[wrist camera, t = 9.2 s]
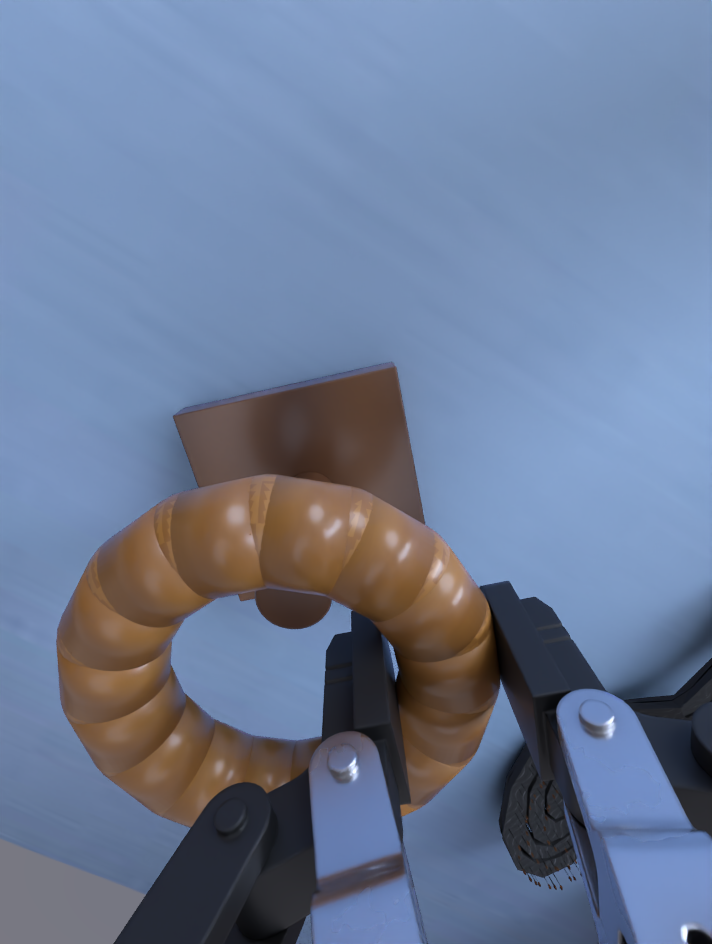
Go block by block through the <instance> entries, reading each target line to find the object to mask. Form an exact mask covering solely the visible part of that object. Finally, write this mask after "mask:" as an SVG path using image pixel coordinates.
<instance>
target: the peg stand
mask: <svg viewBox="0 0 712 944" xmlns="http://www.w3.org/2000/svg"><path fill="white" fill-rule="evenodd" d="M173 418H174V421H175V424H176V427H177V429H178V432H179V435H180V438H181V440H182V443H183V446H184V448H185V451H186V454H187V457H188V459H189V462H190V465H191V468H192V470H193V473H194V476H195V478H196V481H197V484H198V487H199V488H200V487H205V486H209V485H214V484H219V483H223V482H228V481H233V480H237V479H242V478H247V477H251V476H256V475H263V474H277V475H284V476H290V477H297V478H303V479H309V480H316V481H322V482H328V483H335V484H341V485H348V486H353V487H357V488H360V489H363V490H365V491H367V492H369V493H371V494H373V495H374V496H376V497H378V498H380V499H381V500H383V501H385V502H386V503H388V504H390V505H392V506H393V507H395V508H397V509H398V510H400V511H402V512H404V513H405V514H407V515H409V516H410V517H412V518H414V519H416V520H417V521H419V522H421V523H422V524H424V525H425V521H424V515H423V510H422V504H421V499H420V493H419V488H418V482H417V477H416V472H415V466H414V461H413V455H412V450H411V444H410V439H409V434H408V428H407V423H406V417H405V412H404V406H403V401H402V395H401V390H400V385H399V379H398V374H397V368H396V366H395V365H394V363H393V362H389V363H385V364H380V365H376V366H371V367H367V368H362V369H358V370H353V371H349V372H344V373H340V374H335V375H331V376H326V377H322V378H317V379H313V380H308V381H304V382H299V383H295V384H290V385H286V386H281V387H277V388H273V389H268V390H264V391H259V392H255V393H250V394H246V395H241V396H237V397H232V398H228V399H223V400H219V401H214V402H210V403H205V404H201V405H196V406H192V407H187V408H184V409H182V410H181V411H179V412H178V413H177V414H175V415H174V416H173ZM238 596H239V598H240V601H245V600H250V599H255V601H256V605H257V607H258V609H259V611H260V612H261V614H262V615H263V616H264V617H265V618H266V619H267V620H268V621H270V622H271V623H273V624H275V625H277V626H279V627H283V628H287V629H302V628H306V627H309V626H312V625H314V624H316V623H317V622H319V621H320V620H321V619H322V618H323V617H324V616H325V615H326V614H327V612H328V611H329V608H330V606H331V602H332V599H330V598H328V597H326V596H321V595H313V594H306V593H299V592H292V591H285V590H277V589H270V588H267V589H262V590H257V591H251V592H246V593H241V594H238Z"/></svg>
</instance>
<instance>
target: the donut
mask: <svg viewBox="0 0 712 944" xmlns="http://www.w3.org/2000/svg"><path fill="white" fill-rule="evenodd" d="M267 588H270V589H277V590H285V591H292V592H299V593H306V594H313V595H321V596H326V597H328V598H330V599H332V600H333V601H335V602H337V603H339V604H341V605H343V606H345V607H347V608H349V609H351V610H353V611H355V612H357V613H359V614H361V615H363V616H364V617H366V618H368V619H370V620H371V621H372V622H373V624H374V625H375V626H376V627H377V628H378V630H379V631H380V632H381V633H382V634H383V635H384V637H385V638H386V639H387V640H388V641H389V642H390V644H391V645H392V646H393V648H394V652H395V656H396V660H397V664H398V669H399V671H398V675H397V679H396V692H397V699H398V705H399V712H400V720H401V728H402V735H403V743H404V751H405V758H406V766H407V774H408V781H409V789H410V796H411V804H405V805H400V807H401V817H402V816H405V815H407V814H409V813H411V812H413V811H415V810H417V809H419V808H421V807H422V806H424V805H425V804H427V803H428V802H429V801H431V800H432V799H433V798H434V797H435V796H436V795H437V794H438V793H439V792H440V791H441V790H442V789H443V788H444V787H445V786H446V785H447V784H448V783H449V782H450V781H451V780H452V779H453V778H454V777H455V776H456V775H457V774H458V773H459V772H460V771H461V770H462V769H463V768H464V767H465V766H466V765H467V764H468V763H469V761H471V759H472V758H473V756H474V755H475V753H476V752H477V750H478V748H479V745H480V743H481V740H482V737H483V735H484V732H485V729H486V727H487V724H488V721H489V718H490V716H491V713H492V710H493V708H494V705H495V702H496V700H497V697H498V693H499V688H500V668H499V661H498V654H497V647H496V640H495V633H494V626H493V618H492V614H491V611H490V607H489V604H488V602H487V600H486V598H485V596H484V595H483V593H482V591H481V590H480V589H479V587H478V586H477V584H476V583H475V582H474V580H473V579H472V577H471V576H470V575H469V573H468V572H467V570H466V569H465V568H464V566H463V565H462V564H461V562H460V561H459V559H458V558H457V557H456V555H455V554H454V552H453V551H452V550H451V548H450V547H449V546H448V544H447V543H446V542H445V540H444V539H443V538H442V537H441V536H440V535H439V534H438V533H436V532H435V531H434V530H432V529H431V528H429V527H428V526H426V525H424V524H422V523H421V522H419V521H417V520H416V519H414V518H412V517H410V516H409V515H407V514H405V513H404V512H402V511H400V510H398V509H397V508H395V507H393V506H392V505H390V504H388V503H386V502H385V501H383V500H381V499H380V498H378V497H376V496H374V495H373V494H371V493H369V492H367V491H365V490H363V489H360V488H357V487H353V486H348V485H341V484H335V483H328V482H322V481H316V480H309V479H303V478H297V477H290V476H284V475H277V474H263V475H256V476H251V477H247V478H242V479H237V480H233V481H228V482H223V483H219V484H214V485H209V486H205V487H200V488H195V489H191V490H186V491H183V492H180V493H177V494H174V495H172V496H170V497H168V498H166V499H164V500H163V501H161V502H160V503H159V504H157V505H156V506H154V507H153V508H152V509H150V510H149V511H147V512H146V513H145V514H143V515H142V516H140V517H139V518H138V519H136V520H135V521H133V522H132V523H131V524H129V525H128V526H126V527H125V528H124V529H122V530H121V531H119V532H118V533H117V534H115V535H114V536H112V537H111V538H110V539H108V540H107V541H106V542H105V543H104V544H103V545H102V546H100V547H99V548H98V550H97V551H96V552H95V554H94V555H93V557H92V558H91V559H90V561H89V563H88V565H87V567H86V569H85V571H84V573H83V575H82V577H81V579H80V581H79V583H78V585H77V587H76V589H75V591H74V593H73V595H72V597H71V599H70V601H69V603H68V605H67V607H66V609H65V611H64V613H63V615H62V617H61V620H60V623H59V626H58V629H57V641H56V643H57V657H58V672H59V687H60V700H61V705H62V708H63V711H64V714H65V715H66V717H67V719H68V721H69V722H70V724H71V726H72V727H73V729H74V731H75V732H76V734H77V736H78V737H79V739H80V741H81V742H82V744H83V746H84V747H85V749H86V751H87V752H88V754H89V756H90V757H91V759H92V761H93V762H94V764H95V765H96V767H97V768H98V769H99V770H100V771H101V772H102V773H103V775H105V776H106V777H107V778H109V779H110V780H111V781H112V782H114V783H115V784H116V785H118V786H119V787H120V788H122V789H123V790H124V791H126V792H127V793H128V794H129V795H131V796H132V797H133V798H135V799H136V800H137V801H139V802H140V803H141V804H142V805H144V806H145V807H146V808H148V809H149V810H150V811H152V812H153V813H155V814H157V815H159V816H161V817H164V818H166V819H169V820H172V821H174V822H177V823H180V824H182V825H185V826H188V827H190V828H191V827H192V826H193V824H194V823H195V821H196V820H197V818H198V817H199V815H200V814H201V812H202V811H203V809H204V808H205V807H206V805H207V804H208V803H209V801H210V800H211V799H212V798H213V797H214V796H215V795H217V794H218V793H219V792H220V791H222V790H223V789H225V788H227V787H229V786H231V785H234V784H237V783H241V782H251V783H255V784H257V785H259V786H261V787H262V788H263V789H264V790H265V792H266V793H268V792H270V791H272V790H274V789H276V788H278V787H280V786H282V785H284V784H286V783H287V782H289V781H291V780H293V779H295V778H296V777H298V776H299V775H300V774H302V773H303V772H304V771H305V770H306V769H307V768H308V767H309V764H310V761H311V758H312V756H313V754H314V752H315V750H316V749H317V748H318V746H319V745H320V744H321V740H322V736H321V737H315V738H309V739H304V740H298V741H296V740H287V739H278V738H270V737H261V736H252V735H250V734H248V733H245V732H243V731H241V730H238V729H236V728H234V727H231V726H229V725H227V724H224V723H222V722H220V721H217V720H215V719H213V718H212V717H211V716H209V715H208V714H207V713H206V712H205V711H204V710H203V709H202V708H201V707H199V706H198V705H197V704H196V703H195V702H194V701H193V700H192V699H191V698H190V697H188V696H187V695H186V694H185V693H184V692H183V689H182V687H181V685H180V683H179V681H178V679H177V677H176V675H175V672H174V670H173V668H172V666H171V646H172V639H173V637H174V636H175V634H176V632H177V631H178V629H179V628H180V626H181V624H182V623H183V621H184V619H185V618H187V617H189V616H190V615H192V614H193V613H195V612H196V611H198V610H199V609H201V608H203V607H204V606H206V605H207V604H209V603H210V602H212V601H214V600H215V599H217V598H221V597H226V596H231V595H236V594H241V593H246V592H251V591H257V590H262V589H267Z"/></svg>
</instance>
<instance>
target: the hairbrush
mask: <svg viewBox="0 0 712 944" xmlns="http://www.w3.org/2000/svg"><path fill="white" fill-rule="evenodd" d="M623 701H624V702H625V703H626V704H627V705H629V706H630V708H631V709H632V710H633V711H636V712H639V713H641V714H645V715H649V716H654V717H662V718H671V719H681V720H690V721H692V716H693V714H694V712H695V710H696V709H697V708H698V707H700V706H701V705H703V704H706V703H708V702H712V658H711V659H710V660H709V661H708V662H707V663H706V664H705V665H704V666H703V667H702V668H701V669H700V670H699V671H698V672H697V673H696V674H695V675H694V676H693V677H692V678H691V679H690V680H689V681H688V682H687V683H686V684H685V685H684V686H683V687H682V688H681V689H680V690H679V691H678V692H677V693H676V694H675V695H671V696H660V697H649V698H639V699H629V700H623ZM544 805H545V807H546V809H547V810H546V809H545V807H544ZM526 819H527V820H526ZM526 823H528V825H529V827H530V829H531V831H532V832H530V830H529V829H528V827H527V825H526ZM499 825H500V831H501V834H502V839H503V841H504V843H505V845H506V847H507V849H508V851H509V853H510V855H511V857H512V860H513V862H514V864H515V866H516V868H517V870H520V871H523V873H524V874H525V875H526V873H527V874H528V873H530V874H533V875H534V876H535V875H536V876H539V877H542V878H543V877H544V878H545V877H546V876H549V875H550V874H552V873H553V875H554V872H556V871H559V870H561V869H563V868H565V867H568V869H570V866H569V865H571V864H573V863H574V861H575V863H576V864H577V862H576V859H577V857H576V853H575V849H574V846H573V842H572V838H571V835H570V831H569V827H568V824H567V820H566V817H565V811H564V800H563V796H562V793H561V791H560V789H559V786H558V784H557V782H556V780H549V781H543V782H542V781H541V779H540V776H539V774H538V771H537V769H536V766H535V764H534V761H533V759H532V756H531V754H530V751H529V749H528V746H527V744H526V745H525V747H524V748H523V750H522V752H521V753H520V755H519V757H518V758H517V760H516V762H515V763H514V765H513V767H512V768H511V770H510V772H509V773H508V775H507V778H506V784H505V790H504V795H503V801H502V806H501V812H500V817H499ZM575 863H574V864H575ZM576 864H575V865H576ZM576 867H577V866H576ZM578 870H579V869H578ZM565 871H566V870H565ZM525 872H526V873H525ZM570 872H571V871H570ZM566 873H567V872H566ZM571 874H572V873H571ZM580 875H581V874H580ZM528 876H529V875H528ZM554 876H555V875H554ZM572 876H573V875H572ZM581 876H582V875H581ZM532 877H533V876H532ZM535 878H536V877H535ZM549 878H550V877H549ZM555 878H556V877H555ZM573 878H574V880H576V879H575V877H574V876H573ZM533 879H534V878H533ZM569 879H570V881H571V882H572V879H571V877H570V876H569ZM529 880H530V881H531V882H532V879H531V878H530V877H529ZM545 880H546V879H545ZM550 880H551V879H550ZM556 880H557V879H556ZM534 881H535V880H534ZM551 881H552V880H551ZM552 883H553V882H552ZM558 883H559V882H558ZM535 884H536V885H537V882H536V881H535ZM538 885H539V886H540V887H541V885H540V883H539V882H538ZM553 885H554V884H553ZM559 885H560V884H559ZM548 886H549V889H551V886H550V885H549V884H548ZM554 888H555V889H556V886H555V885H554ZM560 888H561V890H562V886H561V885H560ZM556 890H557V889H556Z"/></svg>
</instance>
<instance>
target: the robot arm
mask: <svg viewBox="0 0 712 944" xmlns="http://www.w3.org/2000/svg"><path fill="white" fill-rule="evenodd" d="M479 589H480V590H481V591H482V593H483V595H484V596H485V598H486V600H487V602H488V604H489V607H490V611H491V614H492V618H493V626H494V633H495V640H496V647H497V654H498V661H499V668H500V679H501V682H502V684H503V687H504V689H505V692H506V694H507V697H508V699H509V702H510V704H511V707H512V709H513V712H514V714H515V717H516V719H517V722H518V724H519V727H520V729H521V732H522V734H523V736H524V739H525V741H526V744H527V746H528V749H529V751H530V754H531V756H532V759H533V761H534V764H535V766H536V769H537V771H538V774H539V776H540V779H541V781H542V782H543V781H549V780H556V782H557V784H558V786H559V789H560V791H561V793H562V796H563V800H564V811H565V817H566V820H567V824H568V827H569V831H570V835H571V838H572V842H573V846H574V849H575V853H576V857H577V860H578V864H579V867H580V871H581V875H582V878H583V882H584V886H585V889H586V893H587V896H588V900H589V904H590V907H591V911H592V915H593V918H594V922H595V926H596V930H597V934H598V938H599V943H600V944H712V702H708V703H706V704H703V705H701V706H700V707H698V708H697V709H696V710H695V712H694V714H693V716H692V721H690V720H681V719H671V718H662V717H654V716H649V715H645V714H641V713H639V712H636V711H633V710H632V709H631V708H630V706H629V705H627V704H626V703H625V702H624V701H623V700H621V699H620V698H618V697H616V696H614V695H612V694H610V693H607V691H606V690H605V689H604V687H603V686H602V684H601V683H600V681H599V680H598V678H597V677H596V675H595V673H594V672H593V670H592V669H591V667H590V666H589V664H588V663H587V661H586V660H585V658H584V657H583V655H582V654H581V652H580V651H579V649H578V647H577V646H576V644H575V643H574V641H573V640H571V638H570V635H569V634H568V632H567V631H566V629H565V628H564V627H563V626H562V623H561V621H560V620H559V618H558V617H557V615H556V614H555V612H554V611H553V609H552V608H551V607H549V606H548V605H546V604H545V603H543V602H542V601H540V600H539V599H537V598H536V597H531V598H526V599H521V600H520V599H519V597H518V596H517V594H516V592H515V590H514V589H513V587H512V585H511V583H510V582H509V581H504V582H499V583H494V584H489V585H484V586H480V588H479ZM351 627H352V632H347V633H342V634H337V635H335V636H334V637H333V639H332V641H331V643H330V645H329V647H328V649H327V650H326V666H325V668H326V671H325V685H324V705H323V725H322V740H321V744H320V745H319V746H318V748H317V749H316V750H315V752H314V754H313V756H312V758H311V761H310V764H309V767H308V768H307V769H306V770H305V771H304V772H303V773H302V774H300V775H299V776H298V777H296V778H295V779H293V780H291V781H289V782H287V783H286V784H284V785H282V786H280V787H278V788H276V789H274V790H272V791H270V792H268V793H266V792H265V790H264V789H263V788H262V787H261V786H259V785H257V784H255V783H251V782H241V783H237V784H234V785H231V786H229V787H227V788H225V789H223V790H222V791H220V792H219V793H218V794H217V795H215V796H214V797H213V798H212V799H211V800H210V801H209V803H208V804H207V805H206V807H205V808H204V809H203V811H202V812H201V814H200V815H199V817H198V818H197V820H196V821H195V823H194V824H193V826H192V827H191V829H190V830H189V832H188V833H187V835H186V836H185V838H184V839H183V841H182V842H181V844H180V845H179V847H178V848H177V850H176V851H175V853H174V854H173V856H172V857H171V859H170V860H169V862H168V863H167V864H166V866H165V867H164V869H163V870H162V872H161V873H160V875H159V876H158V878H157V879H156V881H155V882H154V884H153V885H152V887H151V888H150V890H149V891H148V893H147V894H146V896H145V897H144V899H143V900H142V902H141V904H140V905H139V906H138V908H137V909H136V911H135V912H134V914H133V915H132V917H131V918H130V920H129V921H128V923H127V924H126V926H125V927H124V929H123V930H122V932H121V934H120V935H119V936H118V938H117V939H116V941H115V942H114V944H296V941H297V939H298V936H299V934H300V931H301V929H302V927H303V924H304V921H305V918H306V916H308V915H309V914H310V915H311V934H312V944H428V942H427V938H426V933H425V929H424V925H423V921H422V917H421V913H420V909H419V904H418V900H417V896H416V892H415V888H414V884H413V880H412V875H411V871H410V867H409V863H408V859H407V855H406V851H405V846H404V842H403V826H402V817H401V807H400V805H405V804H411V796H410V789H409V781H408V774H407V766H406V758H405V751H404V743H403V735H402V728H401V720H400V712H399V705H398V699H397V692H396V682H395V675H394V668H393V663H392V658H391V653H390V649H389V645H388V640H387V639H386V638H385V637H384V635H383V634H382V633H381V632H380V631H379V630H378V628H377V627H376V626H375V625H374V624H373V622H372V621H371V620H370V619H368V618H366V617H364V616H363V615H361V614H359V613H357V612H355V611H352V612H351Z"/></svg>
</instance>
